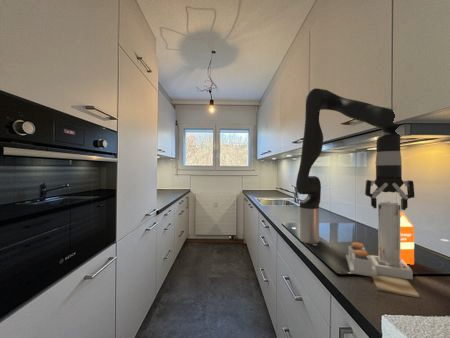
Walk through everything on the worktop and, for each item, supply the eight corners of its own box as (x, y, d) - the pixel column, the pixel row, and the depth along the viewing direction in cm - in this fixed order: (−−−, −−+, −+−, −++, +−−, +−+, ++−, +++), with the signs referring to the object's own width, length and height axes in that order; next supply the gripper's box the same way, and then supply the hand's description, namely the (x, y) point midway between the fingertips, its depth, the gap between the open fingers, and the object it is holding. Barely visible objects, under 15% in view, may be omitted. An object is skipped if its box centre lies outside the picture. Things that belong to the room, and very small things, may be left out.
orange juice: (396, 255, 94) (395, 208, 94) (414, 264, 85) (414, 212, 85) (378, 255, 94) (377, 208, 94) (394, 264, 85) (394, 213, 85)
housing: (345, 257, 92) (345, 244, 92) (399, 264, 85) (399, 250, 85) (350, 273, 79) (350, 258, 79) (415, 283, 71) (415, 267, 71)
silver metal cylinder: (379, 272, 79) (379, 202, 79) (377, 265, 85) (376, 200, 85) (402, 276, 76) (402, 203, 76) (398, 268, 82) (398, 201, 82)
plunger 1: (350, 253, 91) (350, 241, 91) (362, 255, 89) (362, 242, 89) (351, 257, 87) (351, 244, 87) (364, 259, 85) (364, 246, 85)
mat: (370, 275, 77) (370, 273, 77) (406, 281, 73) (406, 279, 73) (378, 290, 67) (378, 288, 67) (419, 297, 64) (419, 295, 64)
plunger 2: (353, 262, 83) (353, 249, 83) (366, 264, 81) (366, 250, 81) (355, 267, 79) (355, 253, 79) (369, 269, 77) (369, 254, 77)
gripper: (367, 164, 80) (367, 209, 80) (417, 163, 74) (417, 212, 74) (363, 164, 86) (364, 206, 86) (408, 164, 81) (409, 208, 81)
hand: (388, 208), depth 80 cm, fingers open, 8 cm apart
